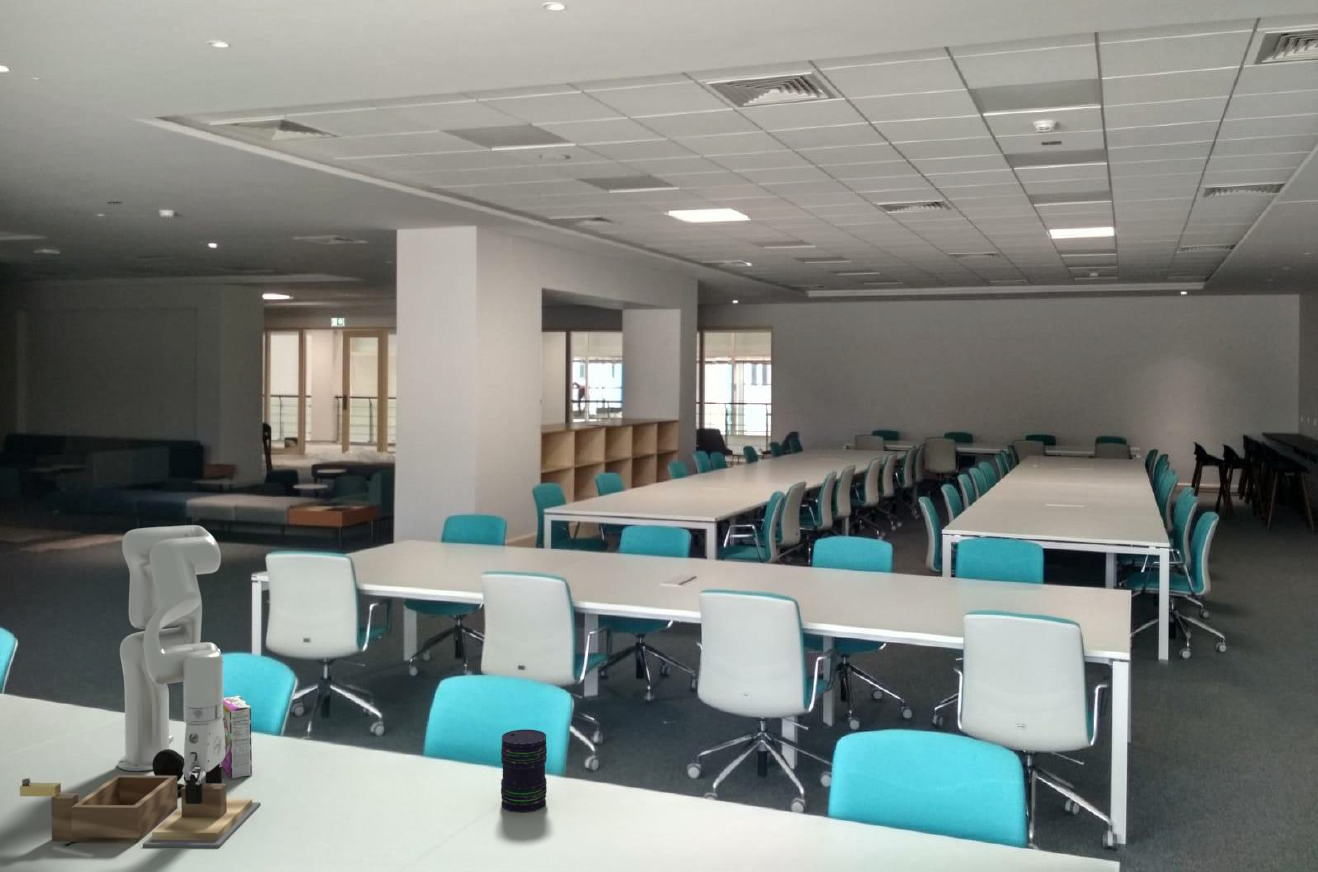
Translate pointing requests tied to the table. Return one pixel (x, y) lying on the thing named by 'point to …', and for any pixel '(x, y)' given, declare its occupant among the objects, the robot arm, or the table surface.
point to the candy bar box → (237, 737)
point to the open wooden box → (115, 810)
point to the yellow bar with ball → (39, 789)
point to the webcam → (169, 766)
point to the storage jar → (523, 771)
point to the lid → (203, 816)
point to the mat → (203, 842)
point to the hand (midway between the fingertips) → (204, 794)
